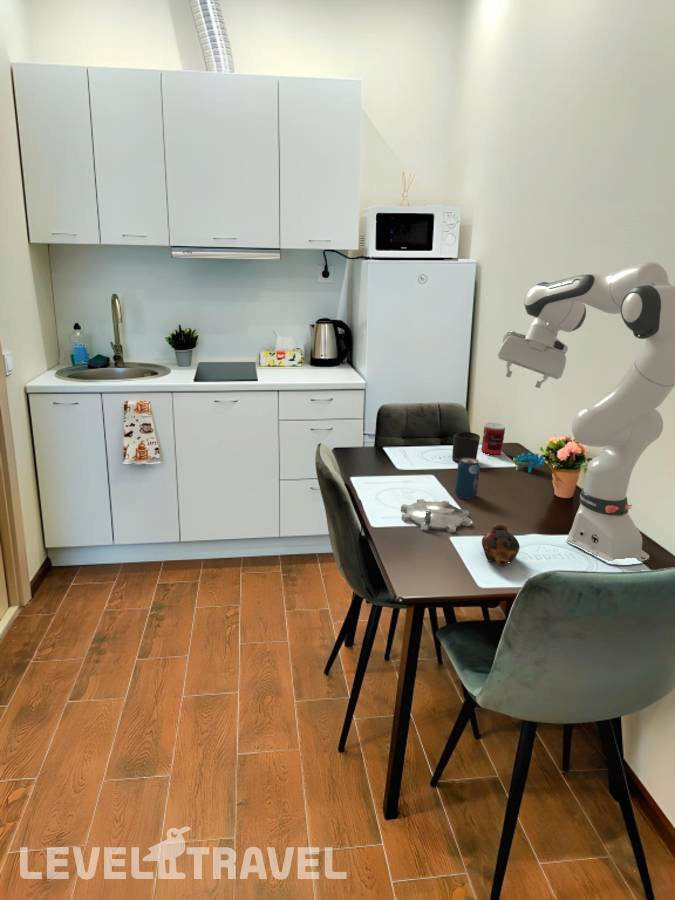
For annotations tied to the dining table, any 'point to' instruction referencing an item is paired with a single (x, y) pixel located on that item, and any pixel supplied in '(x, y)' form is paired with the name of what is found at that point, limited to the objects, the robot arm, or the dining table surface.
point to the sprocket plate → (435, 515)
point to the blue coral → (528, 461)
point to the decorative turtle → (500, 545)
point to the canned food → (493, 438)
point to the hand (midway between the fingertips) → (522, 382)
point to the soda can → (467, 477)
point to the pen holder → (465, 445)
